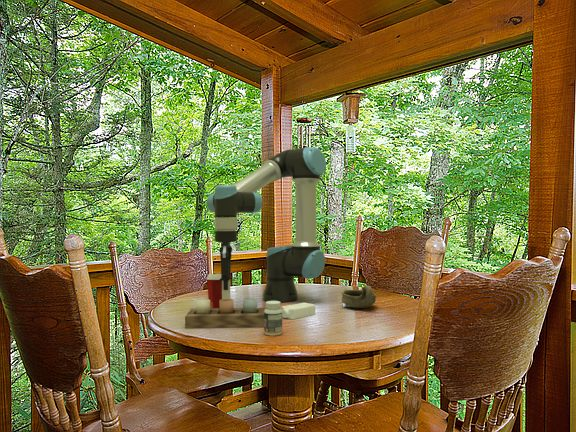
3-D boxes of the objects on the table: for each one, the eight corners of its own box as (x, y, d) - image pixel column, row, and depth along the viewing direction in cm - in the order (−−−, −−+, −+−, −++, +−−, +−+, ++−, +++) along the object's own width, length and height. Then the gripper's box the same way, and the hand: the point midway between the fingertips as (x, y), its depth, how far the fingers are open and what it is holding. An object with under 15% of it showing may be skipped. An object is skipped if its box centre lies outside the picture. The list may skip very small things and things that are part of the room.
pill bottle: (263, 331, 146) (263, 300, 146) (281, 331, 146) (281, 300, 146) (264, 336, 140) (264, 304, 140) (283, 335, 141) (282, 303, 141)
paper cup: (230, 309, 179) (229, 273, 179) (220, 313, 172) (220, 276, 171) (212, 308, 181) (211, 273, 181) (202, 312, 174) (202, 275, 174)
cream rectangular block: (277, 318, 165) (277, 306, 165) (303, 312, 174) (303, 301, 174) (290, 321, 160) (290, 309, 160) (315, 315, 169) (315, 304, 169)
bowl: (367, 303, 189) (366, 279, 189) (386, 312, 172) (386, 285, 172) (335, 305, 186) (335, 280, 186) (352, 314, 169) (352, 287, 169)
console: (265, 318, 163) (264, 307, 163) (264, 327, 151) (264, 315, 151) (191, 319, 162) (191, 308, 162) (185, 328, 150) (185, 316, 150)
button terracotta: (234, 311, 159) (234, 298, 159) (233, 314, 154) (232, 301, 154) (220, 311, 159) (220, 298, 159) (218, 314, 154) (218, 301, 154)
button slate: (257, 311, 159) (257, 298, 159) (256, 314, 155) (256, 301, 155) (243, 311, 159) (243, 298, 159) (242, 314, 154) (242, 301, 154)
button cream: (211, 311, 159) (211, 299, 159) (209, 314, 154) (209, 301, 154) (197, 311, 159) (197, 299, 159) (194, 314, 154) (194, 301, 154)
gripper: (217, 229, 163) (217, 295, 163) (212, 231, 150) (212, 302, 150) (238, 229, 163) (238, 295, 163) (235, 230, 150) (235, 302, 150)
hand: (226, 299), depth 157 cm, fingers closed
